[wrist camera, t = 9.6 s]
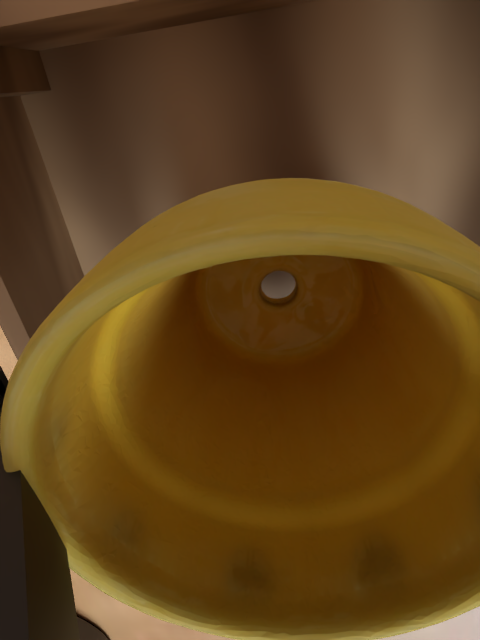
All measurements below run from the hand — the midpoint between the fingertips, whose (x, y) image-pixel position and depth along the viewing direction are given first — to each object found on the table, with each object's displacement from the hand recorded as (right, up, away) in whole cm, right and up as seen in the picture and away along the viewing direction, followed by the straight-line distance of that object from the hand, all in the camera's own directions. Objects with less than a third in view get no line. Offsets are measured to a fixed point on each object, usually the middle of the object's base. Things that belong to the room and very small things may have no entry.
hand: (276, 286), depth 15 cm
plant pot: (0, 0, +1) cm, 1 cm away
